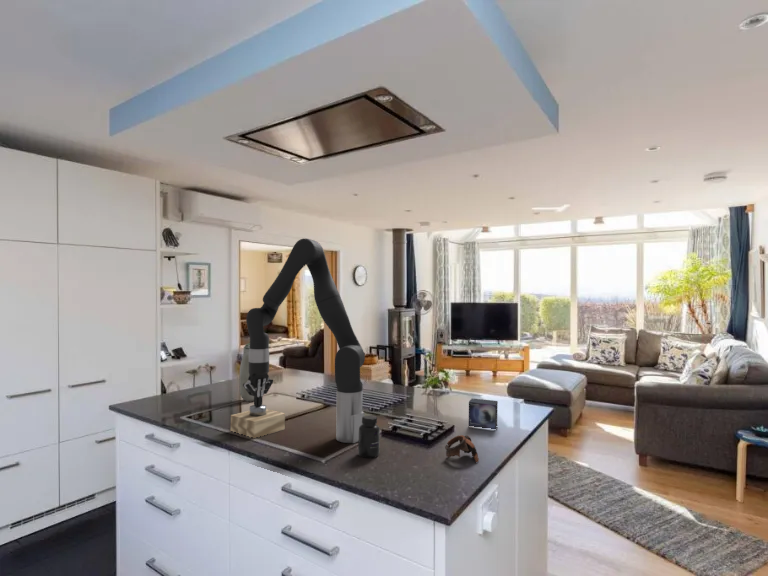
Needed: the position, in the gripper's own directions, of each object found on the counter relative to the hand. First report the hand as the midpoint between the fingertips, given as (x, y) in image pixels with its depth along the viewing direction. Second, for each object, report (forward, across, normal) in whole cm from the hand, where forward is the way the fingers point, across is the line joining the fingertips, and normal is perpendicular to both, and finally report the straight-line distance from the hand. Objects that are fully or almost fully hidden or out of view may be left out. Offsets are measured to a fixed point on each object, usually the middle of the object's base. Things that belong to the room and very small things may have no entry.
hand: (258, 406), depth 163 cm
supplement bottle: (+9, +5, -49) cm, 50 cm away
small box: (+9, +55, -67) cm, 87 cm away
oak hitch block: (+9, 0, 0) cm, 9 cm away
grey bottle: (+9, +28, +41) cm, 50 cm away
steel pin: (+8, 0, 0) cm, 9 cm away
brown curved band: (+9, +20, -75) cm, 78 cm away
